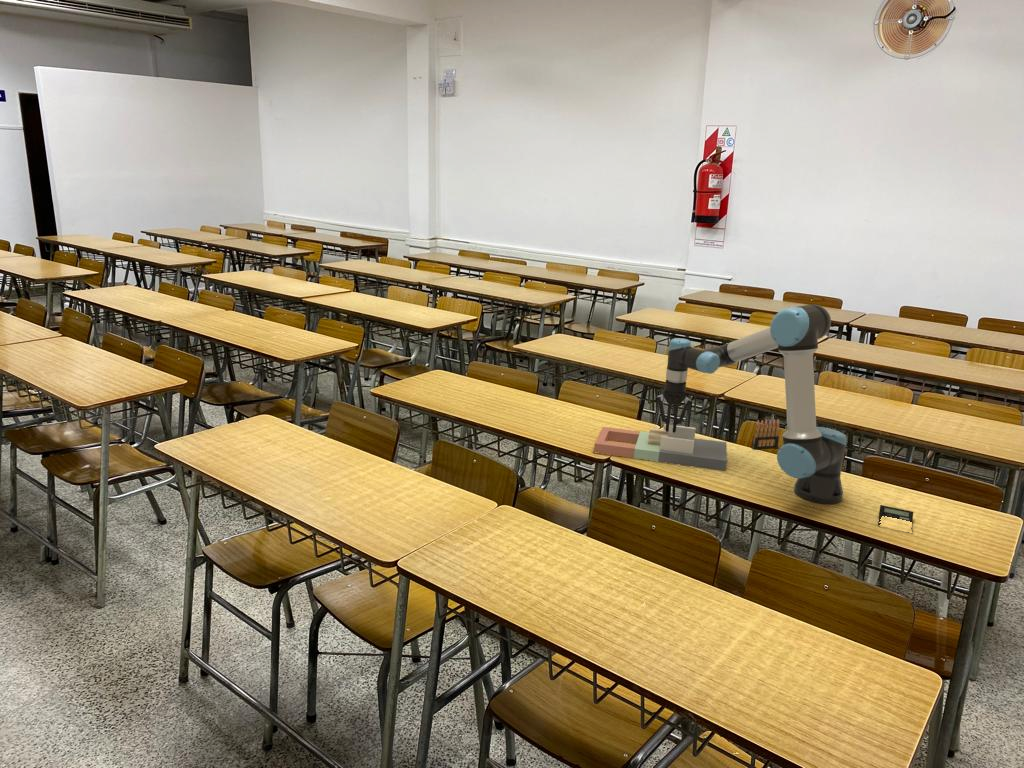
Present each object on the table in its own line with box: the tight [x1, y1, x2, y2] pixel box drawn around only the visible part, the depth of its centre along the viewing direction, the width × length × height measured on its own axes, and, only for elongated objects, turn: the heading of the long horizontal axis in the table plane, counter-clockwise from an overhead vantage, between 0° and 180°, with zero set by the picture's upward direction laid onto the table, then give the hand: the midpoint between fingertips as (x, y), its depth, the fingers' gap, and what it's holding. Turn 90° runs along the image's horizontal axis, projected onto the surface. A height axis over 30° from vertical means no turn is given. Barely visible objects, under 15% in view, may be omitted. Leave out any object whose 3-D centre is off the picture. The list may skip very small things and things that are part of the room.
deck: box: [593, 423, 728, 472], centre depth 272 cm, size 20×48×9 cm, turn 74°
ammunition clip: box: [751, 418, 780, 451], centre depth 281 cm, size 11×2×12 cm, turn 103°
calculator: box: [877, 504, 914, 526], centre depth 223 cm, size 9×12×3 cm
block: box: [648, 427, 668, 446], centre depth 272 cm, size 7×7×4 cm
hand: (669, 439), depth 271 cm, fingers closed
